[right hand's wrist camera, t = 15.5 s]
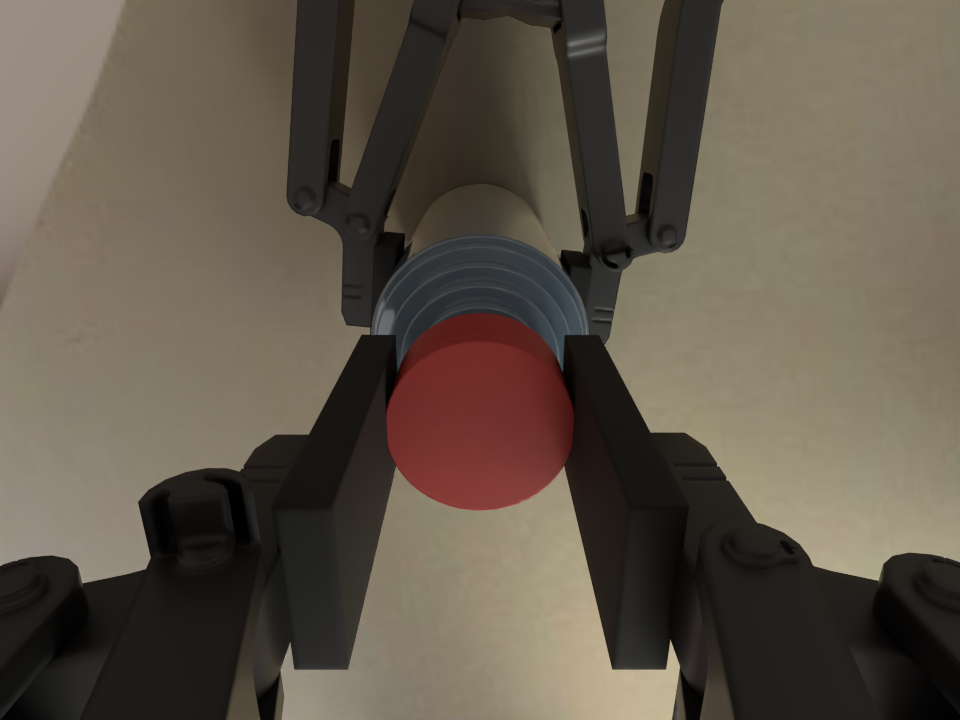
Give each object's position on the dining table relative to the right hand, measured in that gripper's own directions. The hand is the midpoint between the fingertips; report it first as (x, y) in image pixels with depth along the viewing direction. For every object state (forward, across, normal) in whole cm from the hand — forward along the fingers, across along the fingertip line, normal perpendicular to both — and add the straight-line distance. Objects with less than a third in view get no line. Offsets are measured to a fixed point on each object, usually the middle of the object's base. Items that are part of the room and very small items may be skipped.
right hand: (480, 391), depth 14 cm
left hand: (+9, 0, -5) cm, 11 cm away
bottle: (+15, 0, 0) cm, 15 cm away
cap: (-2, 0, 0) cm, 2 cm away
